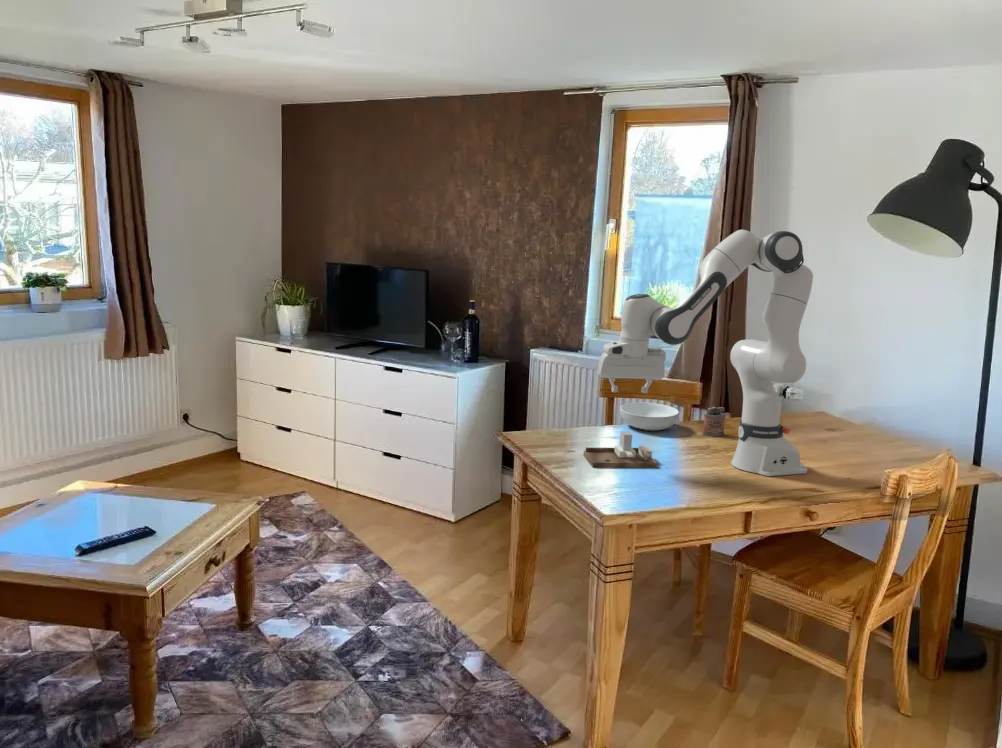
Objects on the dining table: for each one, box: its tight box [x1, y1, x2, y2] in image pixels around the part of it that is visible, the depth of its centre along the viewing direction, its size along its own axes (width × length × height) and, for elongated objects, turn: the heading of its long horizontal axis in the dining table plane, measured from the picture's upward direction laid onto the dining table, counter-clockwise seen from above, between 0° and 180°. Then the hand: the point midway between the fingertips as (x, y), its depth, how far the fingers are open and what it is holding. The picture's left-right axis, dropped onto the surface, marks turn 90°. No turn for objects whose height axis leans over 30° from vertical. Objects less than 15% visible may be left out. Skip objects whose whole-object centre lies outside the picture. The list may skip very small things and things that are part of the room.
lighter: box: [701, 406, 727, 437], centre depth 283 cm, size 8×3×10 cm, turn 104°
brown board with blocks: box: [582, 445, 658, 469], centre depth 248 cm, size 20×12×4 cm, turn 98°
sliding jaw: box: [614, 430, 636, 460], centre depth 247 cm, size 5×9×7 cm, turn 8°
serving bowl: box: [619, 401, 680, 432], centre depth 289 cm, size 21×21×7 cm
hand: (629, 392), depth 246 cm, fingers open, 8 cm apart
